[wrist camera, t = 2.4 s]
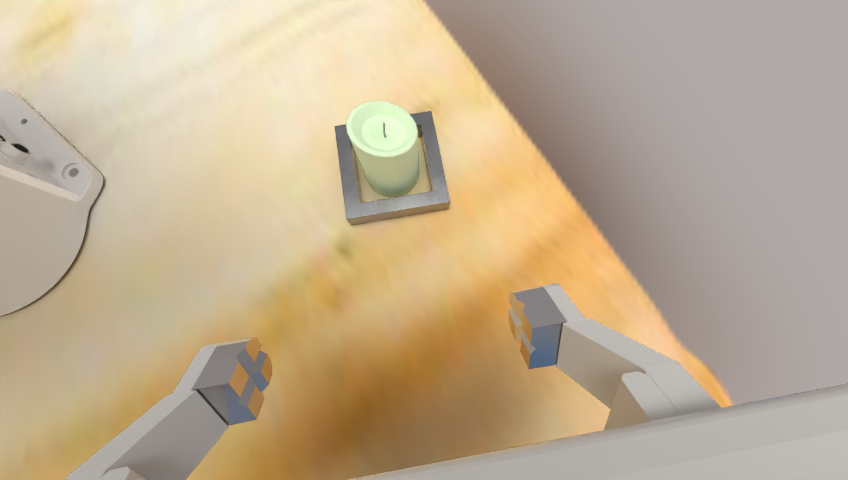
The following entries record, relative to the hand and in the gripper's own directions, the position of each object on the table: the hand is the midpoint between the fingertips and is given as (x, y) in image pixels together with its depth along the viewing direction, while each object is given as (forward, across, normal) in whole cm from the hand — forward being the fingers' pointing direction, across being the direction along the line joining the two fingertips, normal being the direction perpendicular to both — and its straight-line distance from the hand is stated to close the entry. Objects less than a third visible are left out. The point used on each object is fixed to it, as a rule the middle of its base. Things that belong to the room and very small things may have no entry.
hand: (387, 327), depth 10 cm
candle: (+22, 0, +2) cm, 22 cm away
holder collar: (+22, 0, +2) cm, 22 cm away
